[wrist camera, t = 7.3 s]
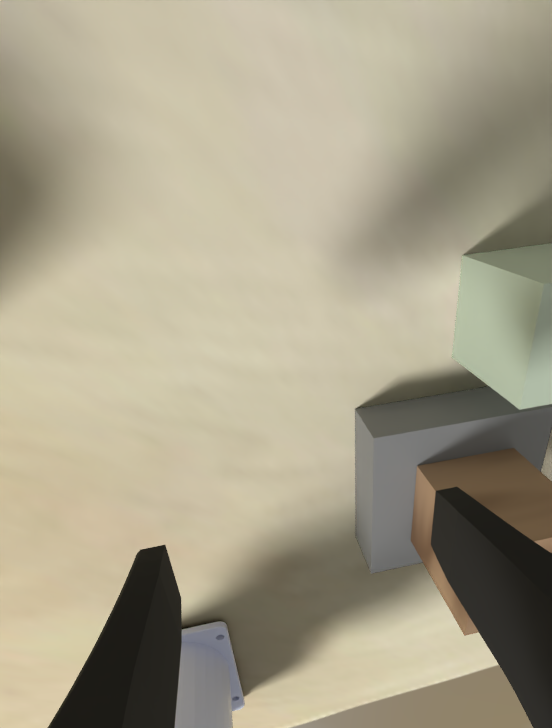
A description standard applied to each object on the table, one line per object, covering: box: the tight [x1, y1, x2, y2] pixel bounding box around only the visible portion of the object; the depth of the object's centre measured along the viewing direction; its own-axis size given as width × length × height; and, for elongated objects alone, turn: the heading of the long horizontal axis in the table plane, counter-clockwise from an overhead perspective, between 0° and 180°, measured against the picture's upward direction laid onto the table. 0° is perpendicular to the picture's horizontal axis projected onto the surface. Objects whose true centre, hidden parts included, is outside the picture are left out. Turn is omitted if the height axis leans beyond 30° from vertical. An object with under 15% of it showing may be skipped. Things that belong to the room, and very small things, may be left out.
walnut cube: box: [411, 448, 552, 635], centre depth 19 cm, size 5×5×5 cm
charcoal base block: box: [355, 386, 552, 574], centre depth 23 cm, size 9×9×3 cm
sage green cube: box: [452, 243, 552, 410], centre depth 18 cm, size 5×5×5 cm
